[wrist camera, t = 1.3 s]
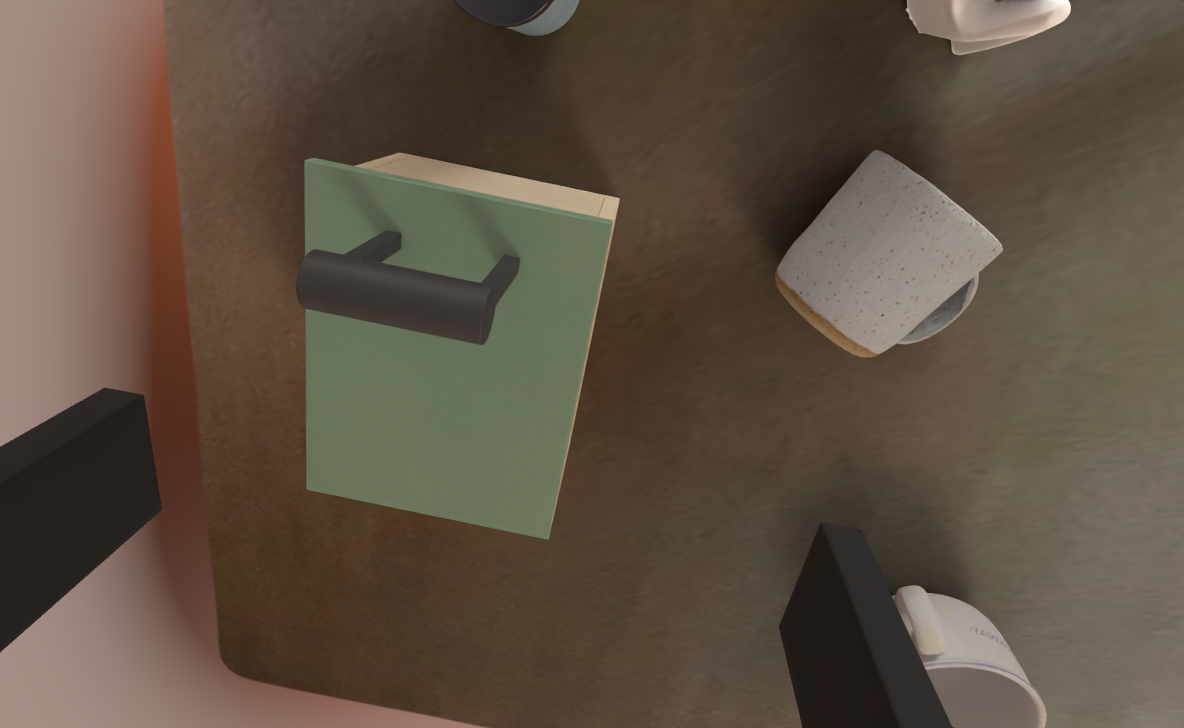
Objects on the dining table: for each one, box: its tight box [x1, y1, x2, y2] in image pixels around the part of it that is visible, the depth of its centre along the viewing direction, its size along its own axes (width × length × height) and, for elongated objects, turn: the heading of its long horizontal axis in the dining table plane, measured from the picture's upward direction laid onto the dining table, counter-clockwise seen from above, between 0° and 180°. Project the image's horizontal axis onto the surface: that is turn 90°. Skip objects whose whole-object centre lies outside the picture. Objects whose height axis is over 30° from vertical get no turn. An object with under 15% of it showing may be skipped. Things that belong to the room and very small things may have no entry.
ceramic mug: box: [775, 150, 1003, 357], centre depth 32 cm, size 11×8×8 cm
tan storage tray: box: [355, 152, 620, 522], centre depth 34 cm, size 16×13×10 cm
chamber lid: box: [296, 158, 613, 539], centre depth 26 cm, size 16×13×8 cm
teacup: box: [892, 585, 1046, 728], centre depth 42 cm, size 14×11×8 cm
